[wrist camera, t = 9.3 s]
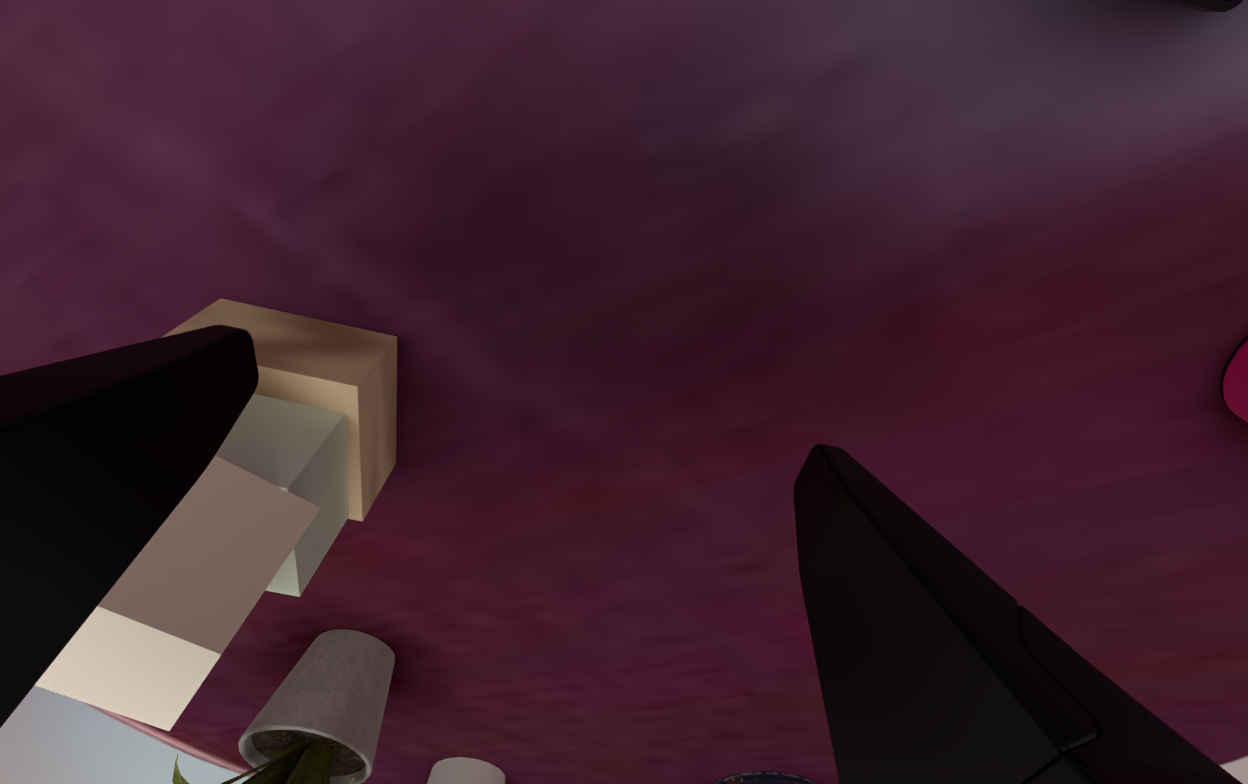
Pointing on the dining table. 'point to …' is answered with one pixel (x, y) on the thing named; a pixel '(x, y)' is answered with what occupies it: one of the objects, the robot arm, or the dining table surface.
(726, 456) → the dining table surface
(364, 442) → the base block
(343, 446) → the top block
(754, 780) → the storage jar
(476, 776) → the white cup
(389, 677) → the house plant
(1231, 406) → the pepper mill
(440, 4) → the dining table surface
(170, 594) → the cube
